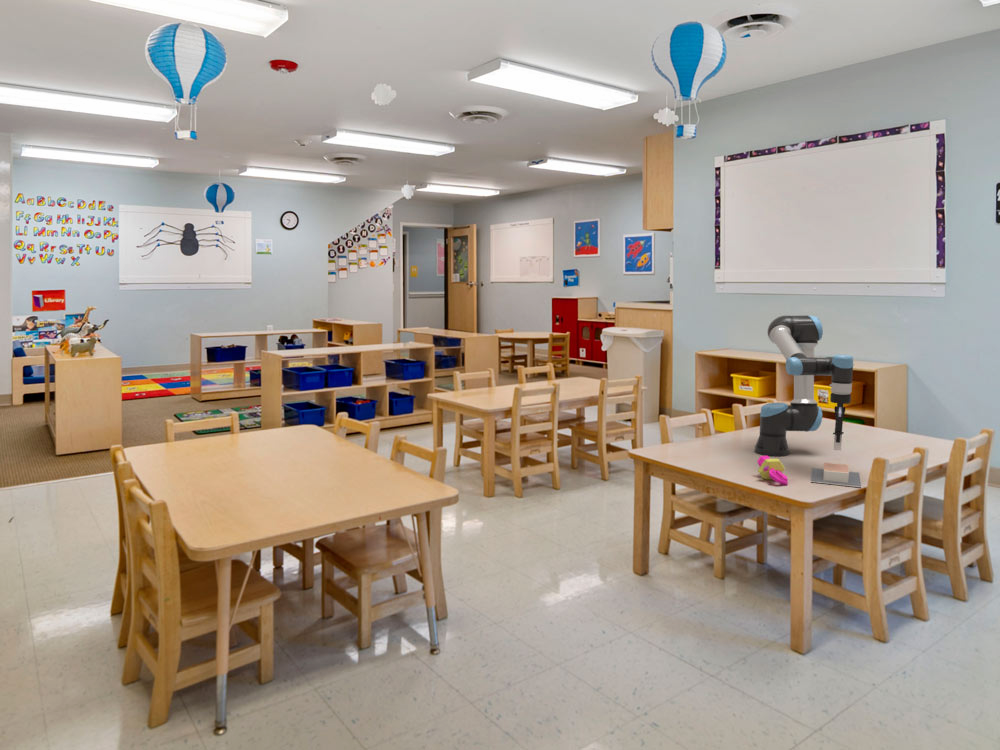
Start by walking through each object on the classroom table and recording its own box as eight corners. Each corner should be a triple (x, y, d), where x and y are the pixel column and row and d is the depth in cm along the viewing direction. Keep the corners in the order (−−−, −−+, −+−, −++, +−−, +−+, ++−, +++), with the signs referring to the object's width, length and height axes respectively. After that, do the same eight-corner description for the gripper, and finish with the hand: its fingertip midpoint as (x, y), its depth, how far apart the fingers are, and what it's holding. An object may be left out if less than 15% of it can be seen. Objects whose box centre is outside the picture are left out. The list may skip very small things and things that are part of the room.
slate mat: (812, 469, 300) (812, 467, 300) (859, 474, 292) (859, 472, 292) (810, 482, 280) (810, 480, 280) (861, 488, 272) (861, 486, 272)
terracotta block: (824, 462, 293) (823, 470, 280) (848, 465, 289) (848, 473, 276) (823, 471, 293) (823, 480, 281) (847, 474, 289) (848, 483, 277)
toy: (766, 488, 276) (781, 467, 272) (744, 464, 292) (758, 444, 289) (785, 496, 279) (800, 475, 276) (763, 471, 295) (777, 452, 292)
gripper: (830, 390, 292) (827, 445, 295) (830, 394, 280) (827, 452, 283) (850, 391, 288) (847, 447, 291) (851, 395, 277) (847, 454, 280)
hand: (837, 449), depth 287 cm, fingers closed
